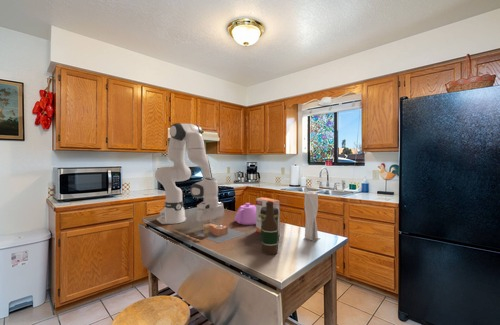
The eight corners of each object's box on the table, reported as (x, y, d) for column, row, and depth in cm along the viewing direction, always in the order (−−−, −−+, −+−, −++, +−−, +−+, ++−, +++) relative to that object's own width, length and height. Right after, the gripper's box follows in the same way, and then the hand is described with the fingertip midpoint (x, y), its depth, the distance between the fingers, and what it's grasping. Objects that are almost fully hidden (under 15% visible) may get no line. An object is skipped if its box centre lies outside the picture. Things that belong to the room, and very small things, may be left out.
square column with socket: (227, 233, 139) (227, 226, 139) (219, 236, 135) (219, 229, 134) (209, 228, 150) (209, 222, 150) (202, 230, 145) (201, 224, 145)
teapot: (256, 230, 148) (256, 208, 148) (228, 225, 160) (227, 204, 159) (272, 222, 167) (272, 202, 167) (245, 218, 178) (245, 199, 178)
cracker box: (255, 233, 143) (255, 198, 143) (262, 230, 148) (262, 196, 147) (273, 238, 133) (272, 201, 133) (280, 236, 137) (280, 199, 137)
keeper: (209, 238, 134) (208, 227, 134) (203, 239, 133) (203, 227, 133) (207, 235, 139) (207, 224, 139) (202, 236, 138) (202, 224, 138)
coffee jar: (281, 241, 128) (281, 207, 128) (271, 245, 123) (271, 209, 122) (267, 237, 135) (267, 204, 135) (258, 241, 130) (257, 206, 129)
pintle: (217, 235, 139) (217, 225, 139) (220, 234, 140) (220, 224, 140) (219, 236, 137) (219, 226, 137) (222, 235, 139) (222, 225, 139)
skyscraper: (300, 239, 133) (300, 188, 132) (307, 235, 139) (307, 187, 138) (315, 242, 127) (315, 190, 127) (321, 238, 134) (321, 188, 133)
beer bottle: (260, 249, 118) (260, 200, 118) (276, 248, 119) (276, 200, 118) (263, 255, 111) (262, 203, 110) (279, 254, 111) (279, 203, 111)
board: (192, 234, 141) (192, 233, 140) (220, 227, 156) (220, 225, 156) (218, 245, 124) (218, 243, 124) (247, 235, 139) (247, 233, 139)
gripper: (219, 200, 159) (219, 221, 159) (194, 205, 143) (195, 229, 143) (226, 201, 155) (226, 223, 155) (201, 207, 139) (202, 231, 139)
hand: (211, 226), depth 149 cm, fingers closed
